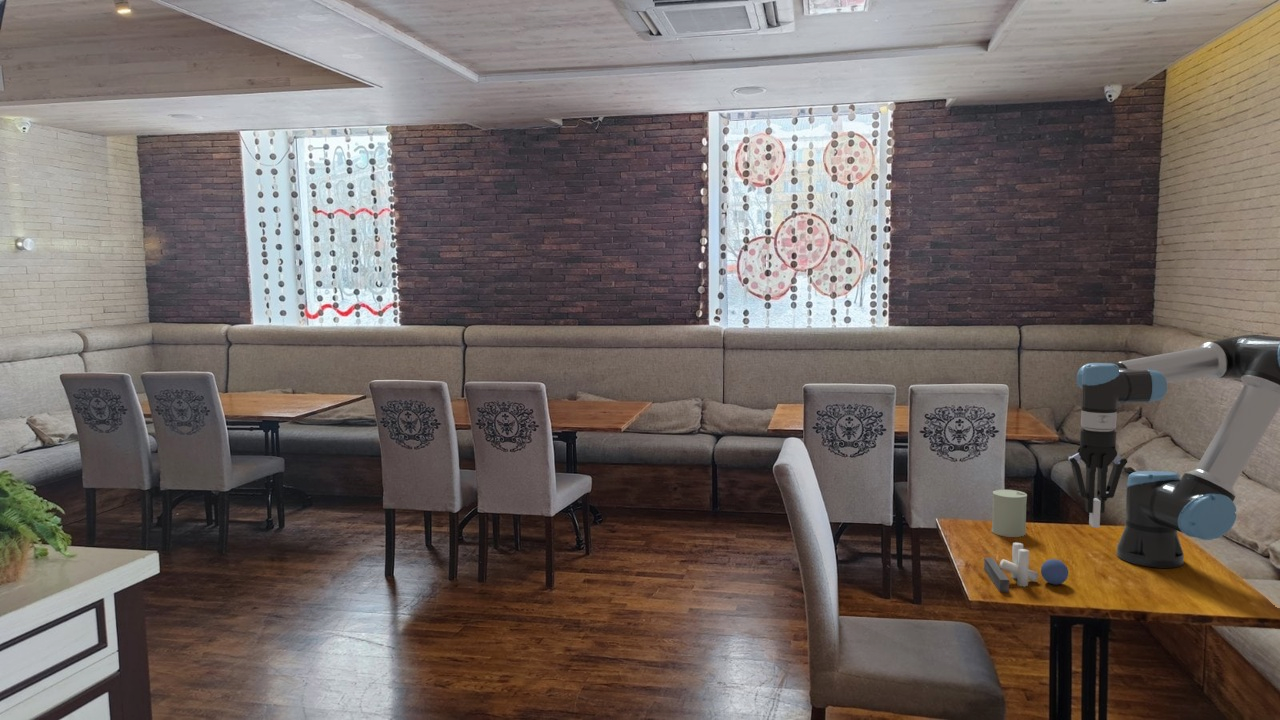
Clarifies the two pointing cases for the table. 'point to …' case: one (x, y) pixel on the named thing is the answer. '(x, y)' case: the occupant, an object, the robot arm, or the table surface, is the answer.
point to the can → (1009, 513)
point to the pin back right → (1016, 555)
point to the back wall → (996, 575)
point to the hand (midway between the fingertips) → (1094, 525)
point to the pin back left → (1023, 567)
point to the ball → (1054, 571)
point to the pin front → (1014, 569)
